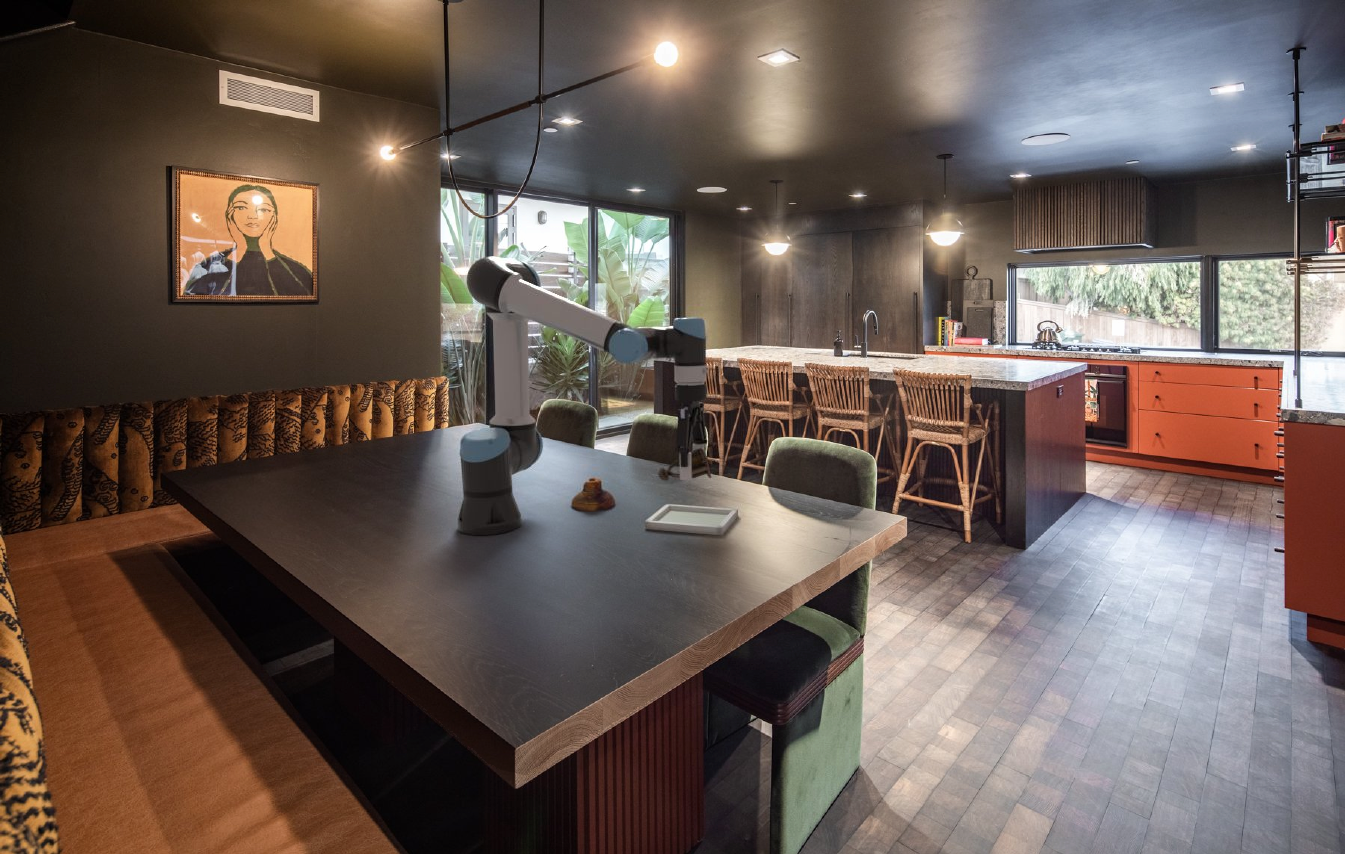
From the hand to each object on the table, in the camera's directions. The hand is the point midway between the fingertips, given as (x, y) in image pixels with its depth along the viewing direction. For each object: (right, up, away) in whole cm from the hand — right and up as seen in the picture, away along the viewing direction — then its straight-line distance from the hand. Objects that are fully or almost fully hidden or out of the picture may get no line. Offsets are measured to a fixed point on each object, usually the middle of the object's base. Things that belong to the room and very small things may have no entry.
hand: (692, 474), depth 173 cm
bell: (-26, -10, +20) cm, 34 cm away
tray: (0, -12, +2) cm, 12 cm away
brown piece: (-2, -1, 0) cm, 2 cm away
